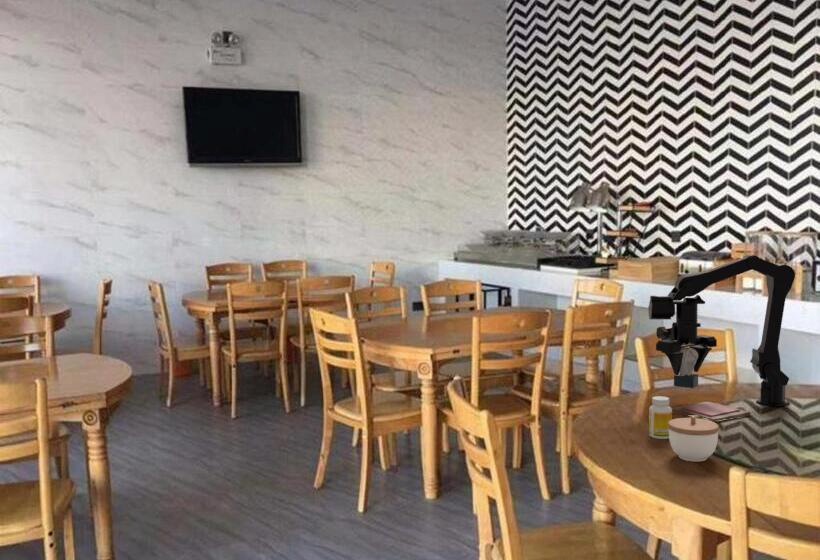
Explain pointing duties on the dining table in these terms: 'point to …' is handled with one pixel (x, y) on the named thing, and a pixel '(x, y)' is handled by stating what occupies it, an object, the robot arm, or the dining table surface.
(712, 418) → the pink square tray
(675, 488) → the dining table surface
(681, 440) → the lidded jar
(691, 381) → the watch
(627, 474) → the dining table surface
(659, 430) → the supplement bottle
